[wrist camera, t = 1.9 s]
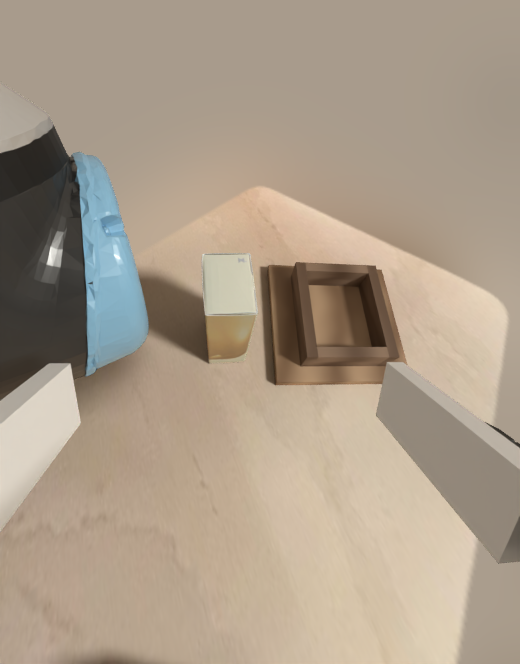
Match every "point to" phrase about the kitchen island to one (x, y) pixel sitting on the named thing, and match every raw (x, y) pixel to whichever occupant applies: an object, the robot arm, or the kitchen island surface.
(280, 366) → the walnut box stand
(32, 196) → the robot arm
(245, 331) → the skincare box
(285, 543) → the kitchen island surface
